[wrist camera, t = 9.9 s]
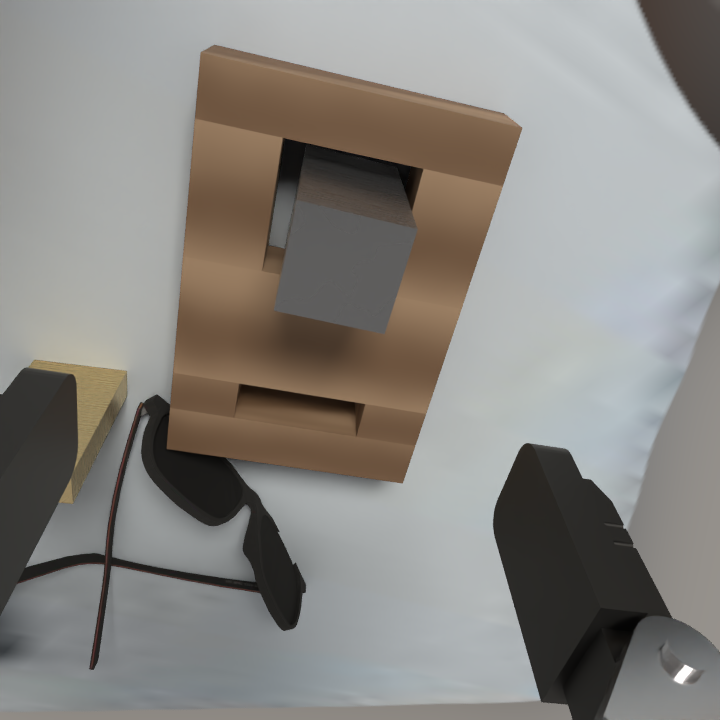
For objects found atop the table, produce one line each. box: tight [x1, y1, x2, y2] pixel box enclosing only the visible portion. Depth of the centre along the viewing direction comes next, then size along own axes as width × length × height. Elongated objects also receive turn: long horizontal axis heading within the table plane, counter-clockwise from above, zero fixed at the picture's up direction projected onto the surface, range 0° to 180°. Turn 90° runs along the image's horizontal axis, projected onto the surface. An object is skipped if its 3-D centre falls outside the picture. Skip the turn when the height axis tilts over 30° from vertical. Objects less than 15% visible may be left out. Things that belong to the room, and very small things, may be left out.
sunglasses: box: [17, 395, 306, 670], centre depth 36 cm, size 17×14×5 cm
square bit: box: [274, 144, 418, 334], centre depth 25 cm, size 4×4×8 cm
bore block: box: [167, 45, 522, 483], centre depth 29 cm, size 18×12×3 cm, turn 167°
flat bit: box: [28, 360, 127, 504], centre depth 29 cm, size 2×4×8 cm, turn 80°
